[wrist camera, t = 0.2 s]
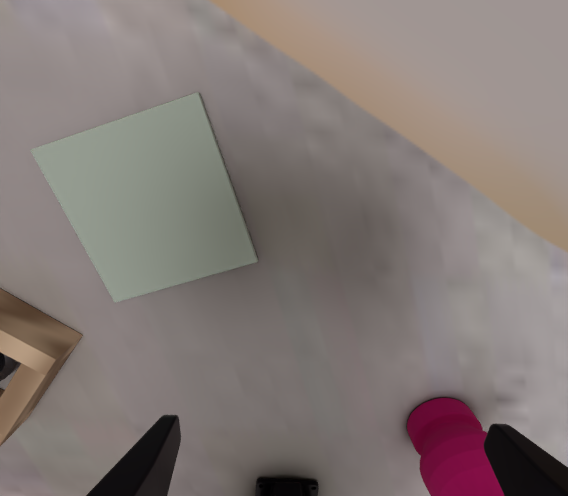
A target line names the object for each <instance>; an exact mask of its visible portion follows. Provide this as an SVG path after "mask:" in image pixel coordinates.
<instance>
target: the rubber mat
mask: <svg viewBox="0 0 568 496" xmlns="http://www.w3.org/2000/svg"><path fill="white" fill-rule="evenodd" d="M30 151H31V152H32V154H33V156H34V158H35V160H36V161H37V163H38V165H39V167H40V169H41V171H42V172H43V174H44V176H45V178H46V180H47V181H48V183H49V185H50V187H51V189H52V190H53V192H54V194H55V196H56V198H57V199H58V201H59V203H60V205H61V207H62V208H63V210H64V212H65V214H66V216H67V217H68V219H69V221H70V223H71V225H72V227H73V228H74V230H75V232H76V234H77V236H78V237H79V239H80V241H81V243H82V245H83V246H84V248H85V250H86V252H87V254H88V255H89V257H90V259H91V261H92V263H93V264H94V266H95V268H96V270H97V272H98V273H99V275H100V277H101V279H102V281H103V283H104V284H105V286H106V288H107V290H108V292H109V293H110V295H111V297H112V299H113V301H114V302H119V301H122V300H126V299H129V298H133V297H136V296H140V295H143V294H147V293H150V292H154V291H157V290H161V289H165V288H168V287H172V286H175V285H179V284H182V283H186V282H189V281H193V280H196V279H200V278H203V277H207V276H210V275H214V274H217V273H221V272H224V271H228V270H231V269H235V268H239V267H242V266H246V265H249V264H253V263H256V262H258V257H257V255H256V252H255V249H254V246H253V243H252V240H251V238H250V235H249V232H248V229H247V226H246V223H245V220H244V218H243V215H242V212H241V209H240V206H239V203H238V201H237V198H236V195H235V192H234V189H233V186H232V183H231V181H230V178H229V175H228V172H227V169H226V166H225V163H224V161H223V158H222V155H221V152H220V149H219V146H218V144H217V141H216V138H215V135H214V132H213V129H212V126H211V124H210V121H209V118H208V115H207V112H206V109H205V107H204V104H203V101H202V98H201V95H200V93H198V92H197V93H194V94H191V95H188V96H185V97H182V98H179V99H177V100H174V101H171V102H168V103H165V104H162V105H159V106H156V107H153V108H150V109H148V110H145V111H142V112H139V113H136V114H133V115H130V116H127V117H124V118H121V119H118V120H116V121H113V122H110V123H107V124H104V125H101V126H98V127H95V128H92V129H89V130H86V131H84V132H81V133H78V134H75V135H72V136H69V137H66V138H63V139H60V140H57V141H54V142H52V143H49V144H46V145H43V146H40V147H37V148H34V149H31V150H30Z"/></svg>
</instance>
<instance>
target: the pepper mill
mask: <svg viewBox="0 0 568 496" xmlns="http://www.w3.org/2000/svg"><path fill="white" fill-rule="evenodd" d="M407 431H408V434H409V436H410V438H411V440H412V443H413V445H414V447H415V449H416V451H417V452H418V453H419V454H420V455H421V459H420V472H421V476H422V479H423V481H424V483H425V485H426V487H427V489H428V491H429V493H430V495H431V496H504V494H503V491H502V489H501V487H500V485H499V482H498V480H497V478H496V476H495V474H494V471H493V469H492V467H491V465H490V462H489V460H488V458H487V456H486V454H485V451H484V441H485V438H486V436H487V432H485V431H483V430H482V426H481V424H480V422H479V421H478V420H477V418H476V417H475V415H474V414H473V413H472V411H471V410H470V409H469V407H468V406H467V405H465V404H464V403H463V402H461V401H459V400H456V399H451V398H437V399H433V400H430V401H427V402H425V403H423V404H421V405H420V406H418V407H417V408H416V409H415V410H414V411H413V412H412V413H411V415H410V417H409V419H408V423H407Z"/></svg>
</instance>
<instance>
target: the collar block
mask: <svg viewBox="0 0 568 496" xmlns="http://www.w3.org/2000/svg"><path fill="white" fill-rule="evenodd" d="M82 336H83V335H81V334H80V333H78V332H76V331H74V330H73V329H71V328H69V327H67V326H66V325H64V324H62V323H60V322H58V321H57V320H55V319H53V318H51V317H50V316H48V315H46V314H44V313H43V312H41V311H39V310H37V309H35V308H34V307H32V306H30V305H28V304H27V303H25V302H23V301H21V300H20V299H18V298H16V297H14V296H12V295H11V294H9V293H7V292H5V291H4V290H2V289H0V352H1V353H3V354H5V355H7V356H9V357H10V358H12V359H14V360H16V361H18V362H20V363H21V365H20V366H19V368H18V370H17V371H16V373H15V375H14V376H13V378H12V379H11V381H10V383H9V384H8V386H7V388H6V389H5V391H4V390H2V389H0V446H1V445H2V444H3V443H4V442H5V441H6V440H7V439H8V438H9V437H10V436H11V435H12V434H13V433H14V432H15V431H16V430H17V429H18V428H19V426H20V425H21V424H22V423H23V422H24V421H25V420H26V419H27V418H28V417H29V415H30V414H31V412H32V411H33V409H34V408H35V406H36V405H37V403H38V402H39V400H40V399H41V397H42V396H43V394H44V393H45V391H46V390H47V388H48V387H49V385H50V384H51V382H52V381H53V379H54V378H55V376H56V375H57V373H58V372H59V370H60V369H61V367H62V366H63V364H64V363H65V361H66V360H67V358H68V357H69V355H70V354H71V352H72V351H73V349H74V348H75V346H76V345H77V343H78V342H79V340H80V339H81V337H82Z"/></svg>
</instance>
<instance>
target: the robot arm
mask: <svg viewBox="0 0 568 496" xmlns="http://www.w3.org/2000/svg"><path fill="white" fill-rule="evenodd" d="M180 441H181V433H180V424H179V417H178V416H177V415H164V416H162V417H161V418H160V419H159V420H158V421H157V422H156V423H155V424H154V425H153V426H152V427H151V428H150V429H149V430H148V431H147V432H146V433H145V434H144V436H143V437H142V438H141V439H140V440H139V441H138V442H137V443H136V444H135V445H134V446H133V447H132V448H131V449H130V450H129V451H128V452H127V453H126V454H125V455H124V457H123V458H122V459H121V460H120V461H119V462H118V463H117V464H116V465H115V466H114V467H113V468H112V469H111V470H110V471H109V472H108V473H107V474H106V475H105V476H104V478H103V479H102V480H101V481H100V482H99V483H98V484H97V485H96V486H95V487H94V488H93V489H92V490H91V491H90V492H89V493H88V494H87V495H86V496H167V494H168V490H169V486H170V482H171V478H172V474H173V470H174V466H175V462H176V458H177V454H178V450H179V446H180ZM484 451H485V454H486V456H487V458H488V460H489V462H490V465H491V467H492V469H493V471H494V474H495V476H496V478H497V480H498V482H499V485H500V487H501V489H502V491H503V494H504V496H568V467H566V466H565V465H564V464H562V463H561V462H559V461H558V460H557V459H555V458H554V457H553V456H551V455H550V454H548V453H547V452H546V451H544V450H543V449H542V448H540V447H539V446H537V445H536V444H535V443H533V442H532V441H530V440H529V439H528V438H526V437H525V436H524V435H522V434H521V433H519V432H518V431H517V430H515V429H514V428H513V427H511V426H509V425H507V424H492V425H491V426H490V428H489V431H488V433H487V436H486V438H485V441H484ZM318 489H319V488H318V482H316V481H308V480H285V479H263V478H261V479H258V480H257V482H256V496H317V495H318Z"/></svg>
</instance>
